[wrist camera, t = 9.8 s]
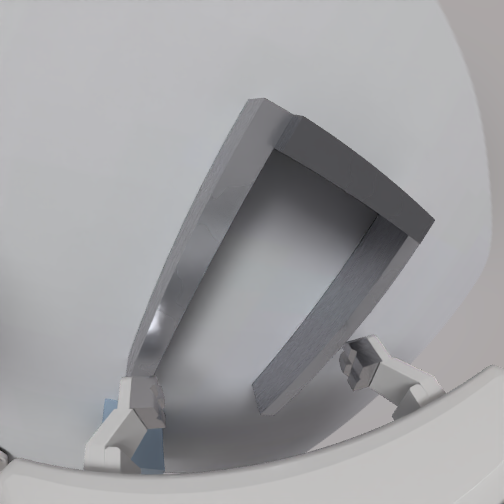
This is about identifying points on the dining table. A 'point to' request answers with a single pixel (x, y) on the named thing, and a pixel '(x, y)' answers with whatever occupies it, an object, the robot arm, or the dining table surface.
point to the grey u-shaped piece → (223, 213)
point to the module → (144, 446)
